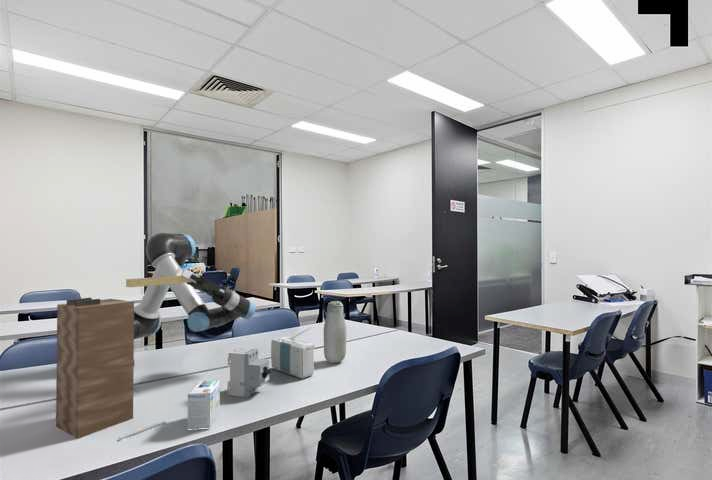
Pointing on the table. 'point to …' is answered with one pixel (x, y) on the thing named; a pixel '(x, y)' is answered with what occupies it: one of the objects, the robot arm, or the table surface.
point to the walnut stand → (94, 364)
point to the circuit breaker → (246, 371)
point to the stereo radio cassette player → (293, 356)
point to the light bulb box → (203, 404)
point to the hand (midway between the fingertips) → (180, 271)
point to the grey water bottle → (334, 333)
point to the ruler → (142, 430)
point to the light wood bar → (156, 281)
